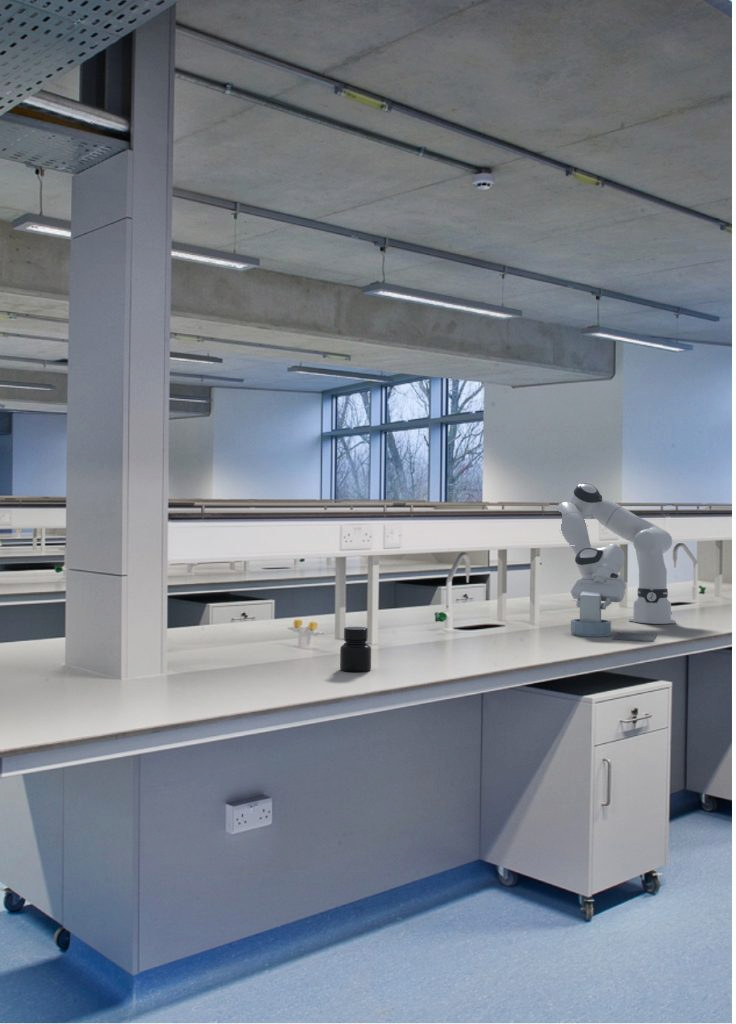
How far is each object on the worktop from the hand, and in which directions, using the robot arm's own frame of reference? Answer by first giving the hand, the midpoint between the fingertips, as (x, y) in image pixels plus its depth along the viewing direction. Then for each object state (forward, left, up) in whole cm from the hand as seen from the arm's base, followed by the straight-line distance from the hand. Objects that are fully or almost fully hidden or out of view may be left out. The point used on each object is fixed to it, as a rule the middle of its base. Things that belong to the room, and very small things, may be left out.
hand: (590, 607), depth 349 cm
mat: (+1, +16, -10) cm, 19 cm away
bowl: (0, 0, -10) cm, 10 cm away
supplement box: (0, 0, -7) cm, 7 cm away
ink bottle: (+107, -53, -10) cm, 119 cm away
